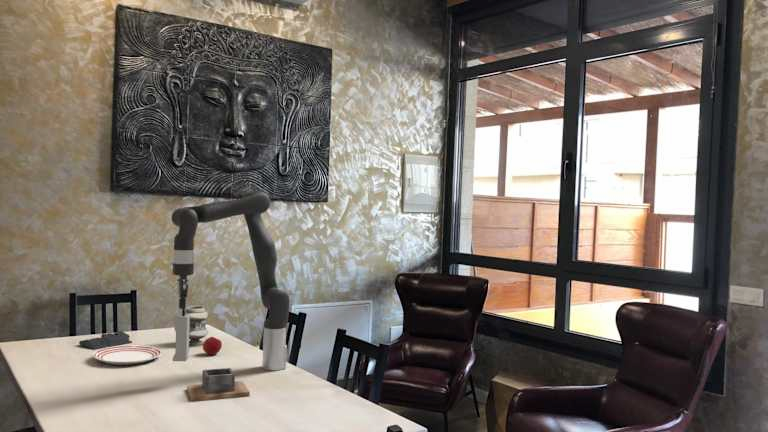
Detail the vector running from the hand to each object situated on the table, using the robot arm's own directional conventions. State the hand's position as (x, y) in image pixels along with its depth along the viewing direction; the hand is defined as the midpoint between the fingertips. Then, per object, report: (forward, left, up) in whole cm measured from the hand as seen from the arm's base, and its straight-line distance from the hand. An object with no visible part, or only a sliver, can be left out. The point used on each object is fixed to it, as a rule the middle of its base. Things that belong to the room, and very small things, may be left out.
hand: (182, 308), depth 225 cm
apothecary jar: (-13, -65, -29) cm, 72 cm away
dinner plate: (+17, -44, -29) cm, 56 cm away
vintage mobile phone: (0, 0, -20) cm, 20 cm away
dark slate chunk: (+26, -76, -30) cm, 86 cm away
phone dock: (-12, +13, -29) cm, 34 cm away
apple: (-18, -43, -29) cm, 55 cm away
